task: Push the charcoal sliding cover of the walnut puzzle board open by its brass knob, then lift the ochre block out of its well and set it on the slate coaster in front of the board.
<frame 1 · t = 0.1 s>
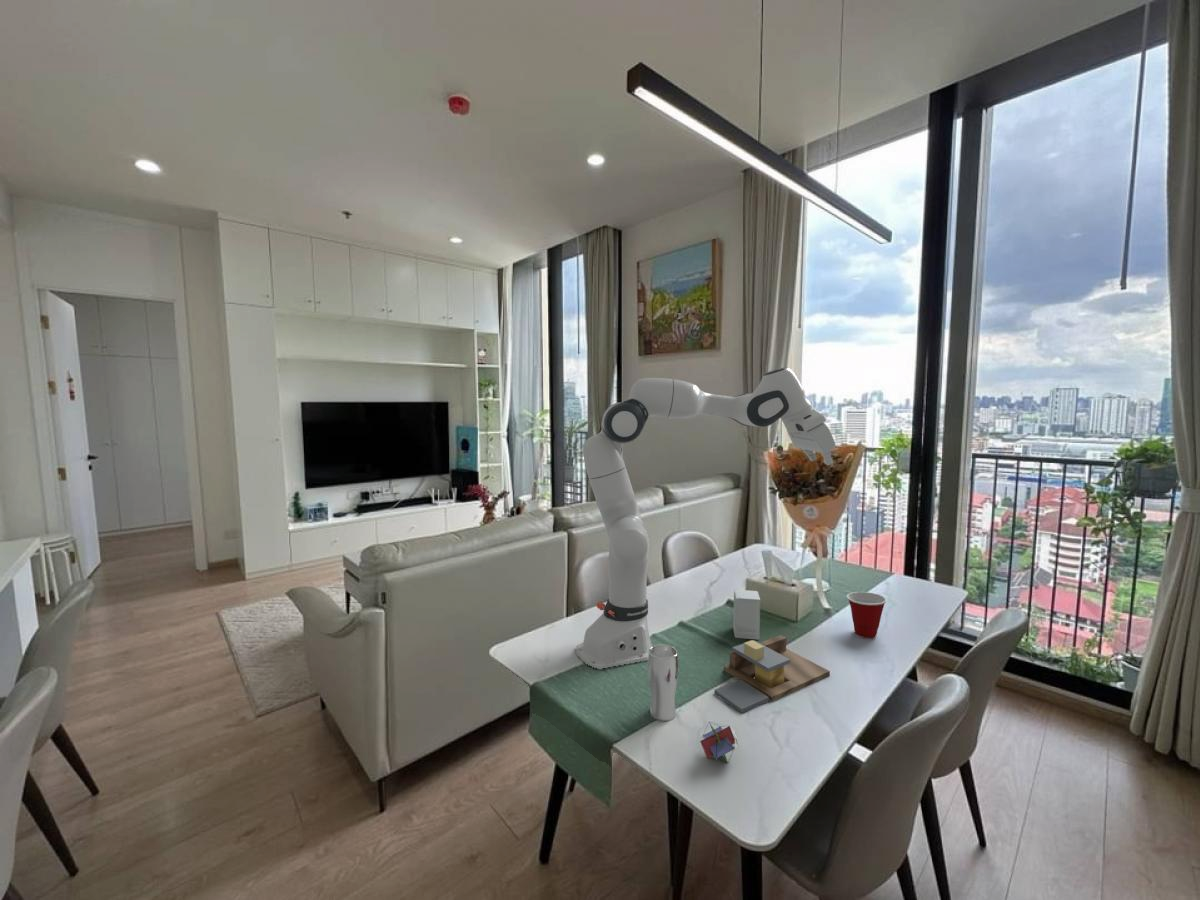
hand: (821, 461, 141), 54 cm above the table, tool tilted 30°, fingers open, 8 cm apart
ochre block: (769, 682, 126), resting in puzzle board
sliding cover: (760, 649, 128), point 7 cm above the table, slide at 0.0 cm
slate coaster: (741, 697, 119), on the table
puzzle board: (776, 672, 130), on the table
supplement box: (745, 634, 152), on the table
plastic cup: (864, 634, 151), on the table
geometric puzzle: (718, 757, 100), on the table
beer glass: (662, 713, 114), on the table
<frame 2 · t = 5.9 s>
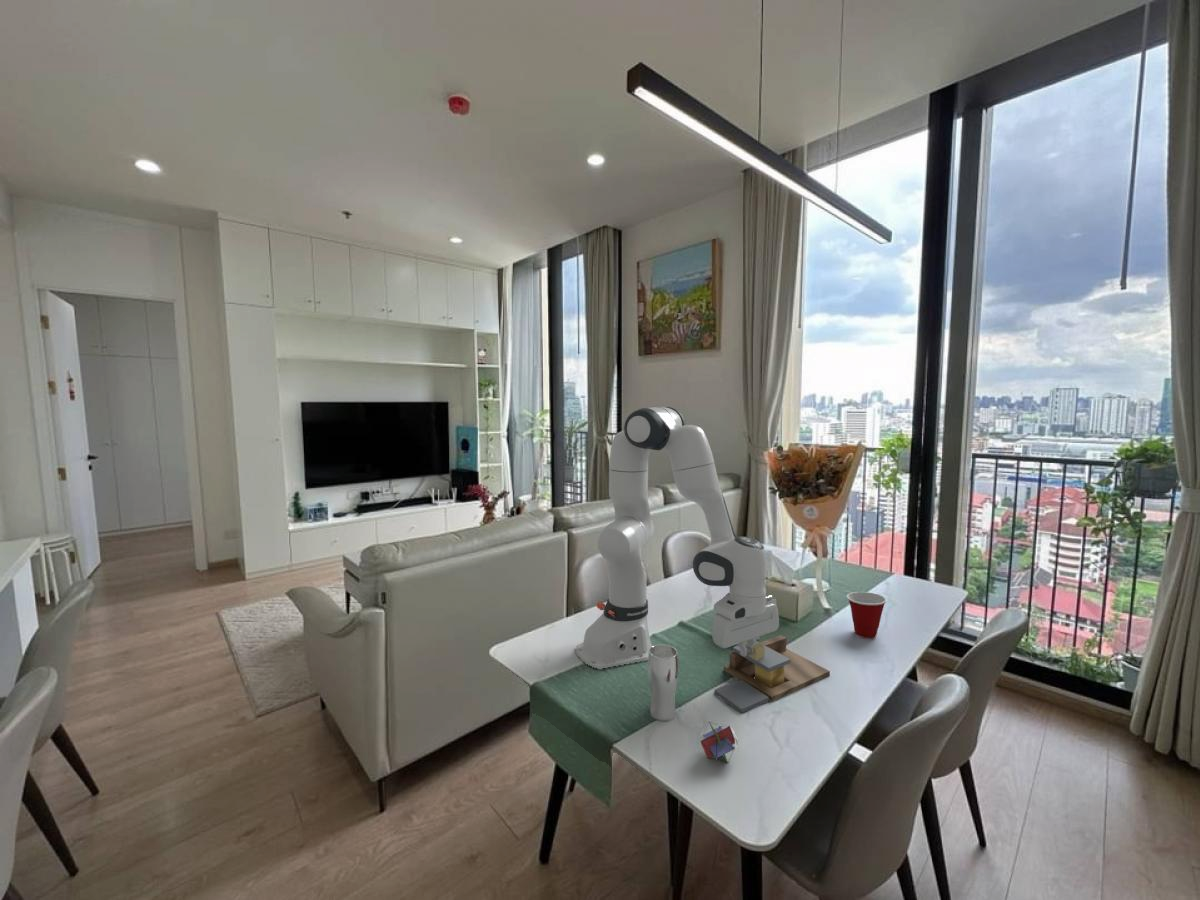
hand: (746, 654, 125), 8 cm above the table, tool pointing down, fingers closed
sliding cover: (761, 649, 128), point 7 cm above the table, slide at 0.2 cm, touching gripper
everything else where it was.
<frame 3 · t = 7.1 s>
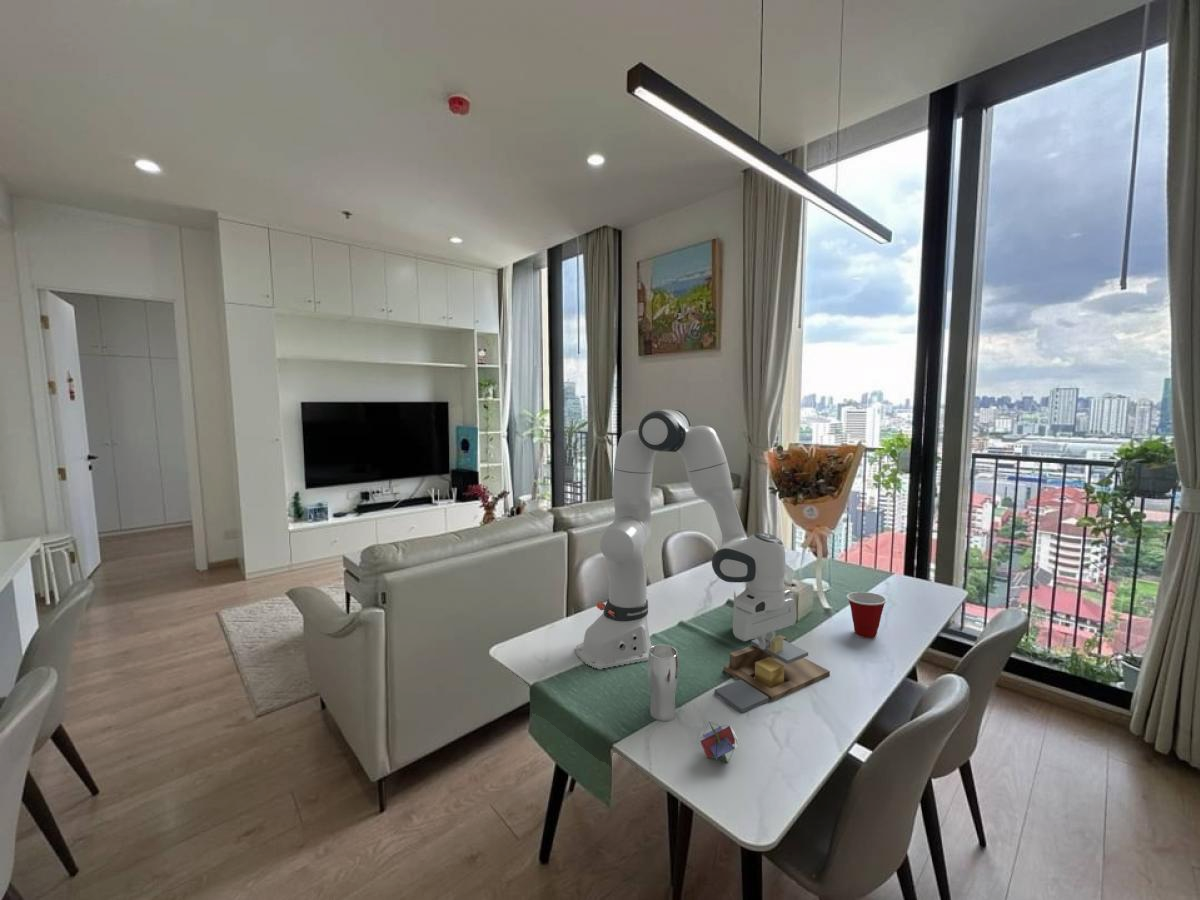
hand: (765, 647, 128), 8 cm above the table, tool pointing down, fingers closed
sliding cover: (779, 642, 131), point 7 cm above the table, slide at 7.1 cm, touching gripper
everything else where it was.
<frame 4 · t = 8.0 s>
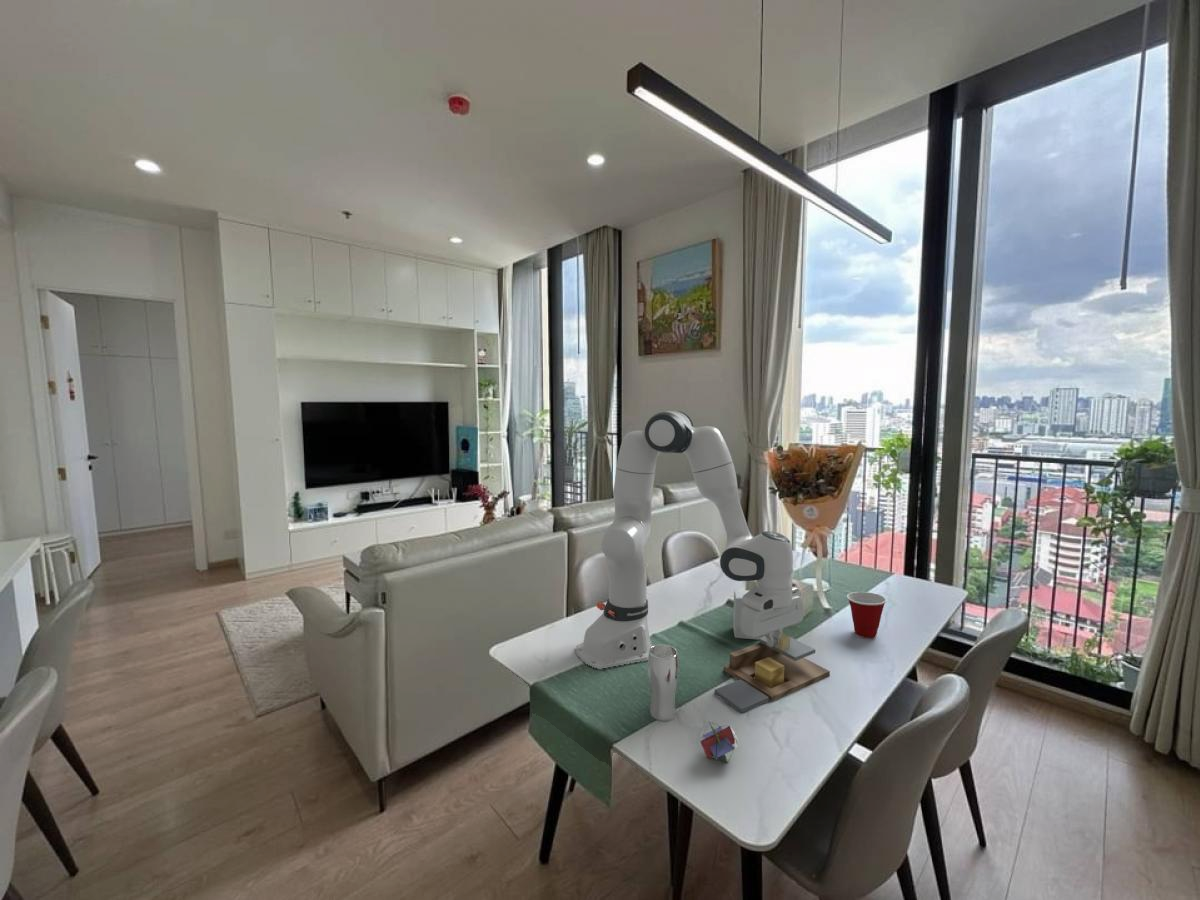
hand: (772, 644, 130), 8 cm above the table, tool pointing down, fingers closed
sliding cover: (786, 640, 133), point 7 cm above the table, slide at 10.0 cm, touching gripper
everything else where it was.
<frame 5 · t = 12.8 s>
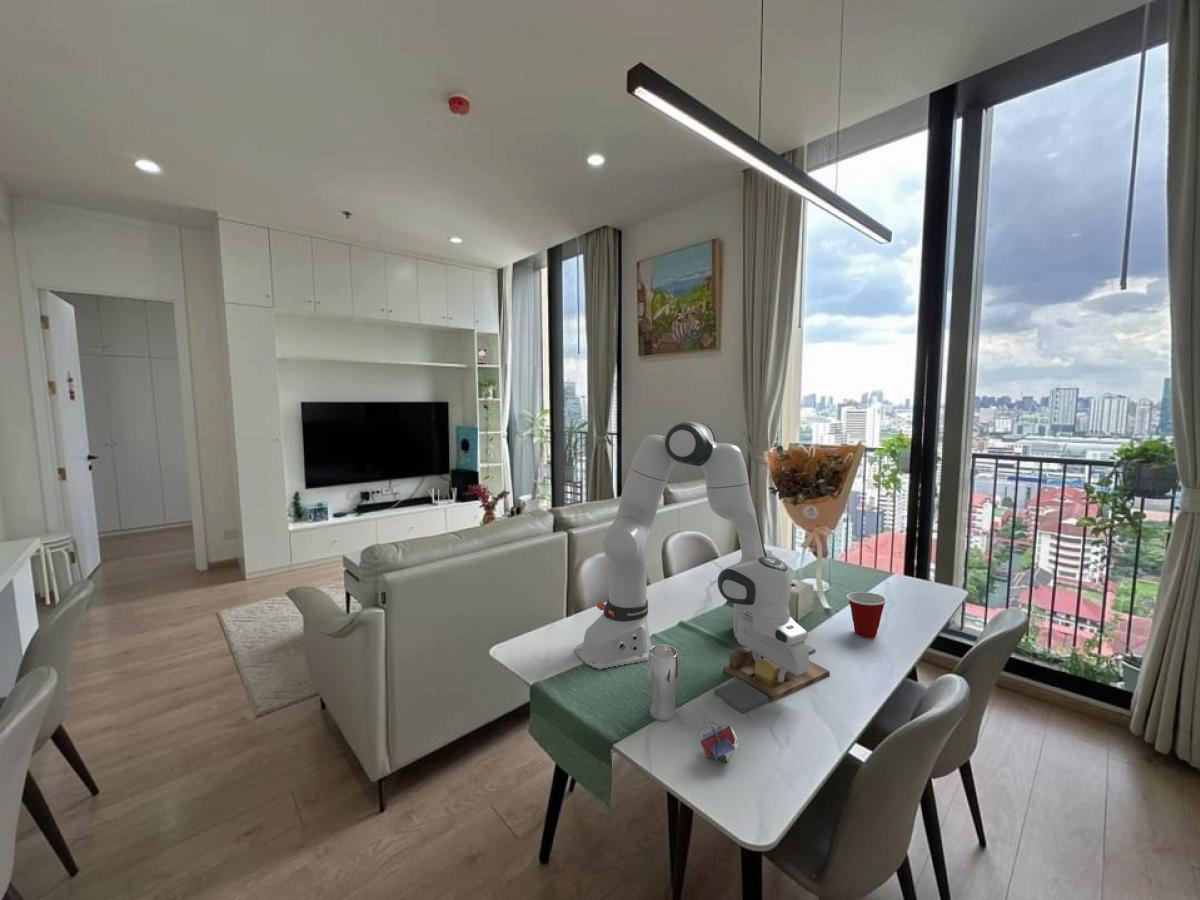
hand: (769, 674, 126), 2 cm above the table, tool pointing down, fingers closed on ochre block, 5 cm apart
ochre block: (769, 682, 126), resting in puzzle board, touching gripper
sliding cover: (786, 639, 133), point 7 cm above the table, slide at 10.0 cm
everything else where it was.
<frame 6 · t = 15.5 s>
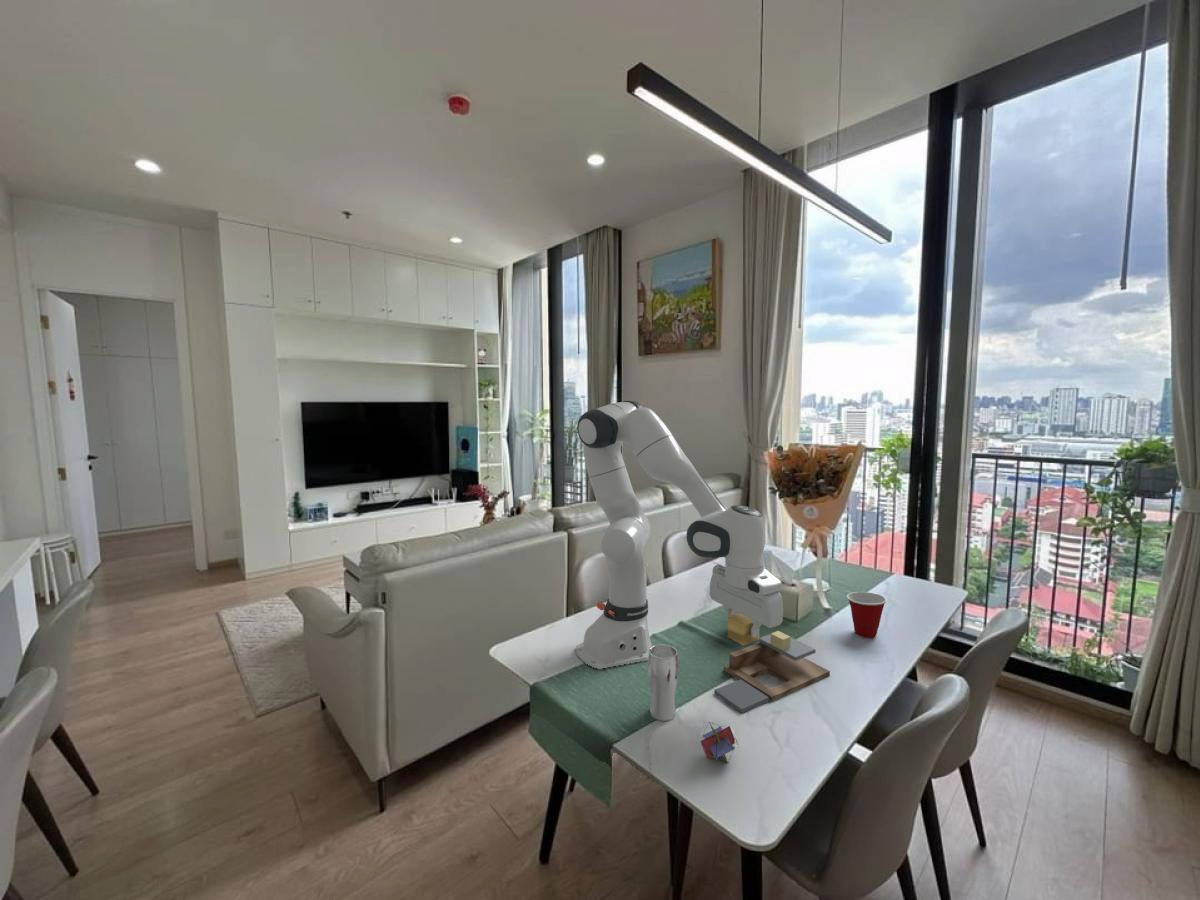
hand: (742, 630, 118), 17 cm above the table, tool pointing down, fingers closed on ochre block, 5 cm apart
ochre block: (742, 638, 118), point 15 cm above the table, touching gripper
everything else where it was.
when the fingers open (4 cm above the table, at t = 18.4 s): ochre block stays where it is, resting on slate coaster.
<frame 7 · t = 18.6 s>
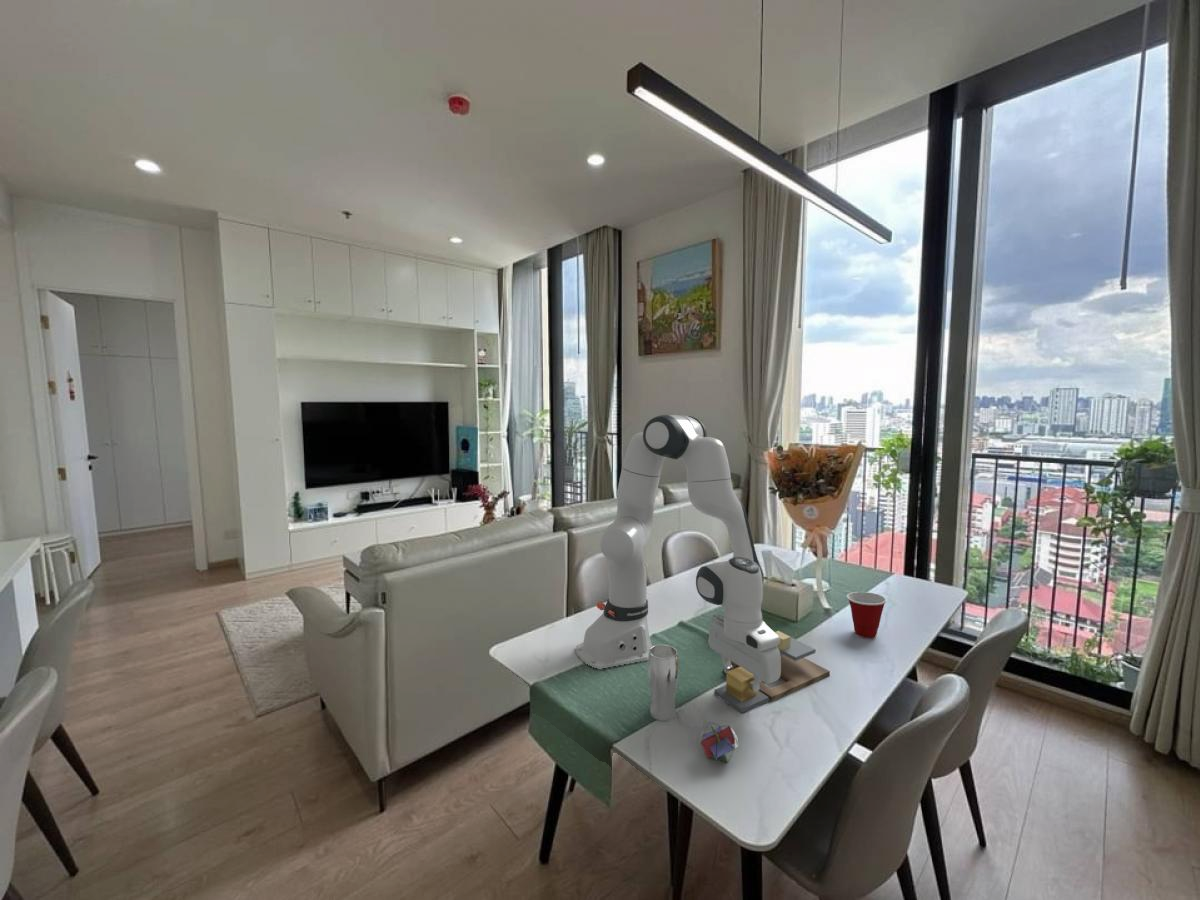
hand: (741, 681, 119), 4 cm above the table, tool pointing down, fingers open, 7 cm apart
ochre block: (741, 693, 119), point 1 cm above the table, touching slate coaster
everything else where it was.
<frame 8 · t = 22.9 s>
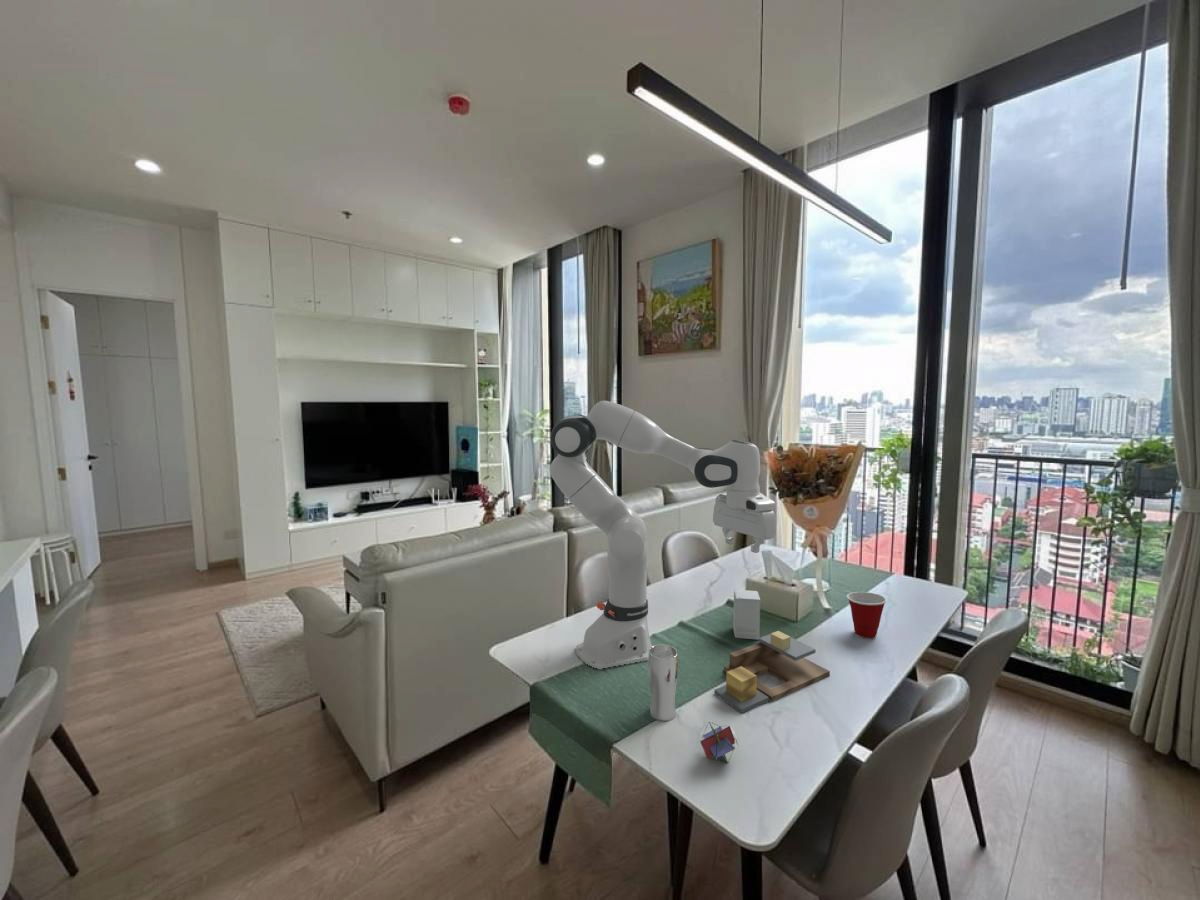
hand: (741, 547, 137), 31 cm above the table, tool pointing down, fingers open, 8 cm apart
nothing on the table moved.
at the end: sliding cover slide at 10.0 cm; ochre block 0.1 cm off-centre on the slate coaster, point 1.0 cm above the slate coaster's base; ochre block tilted 0° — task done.
